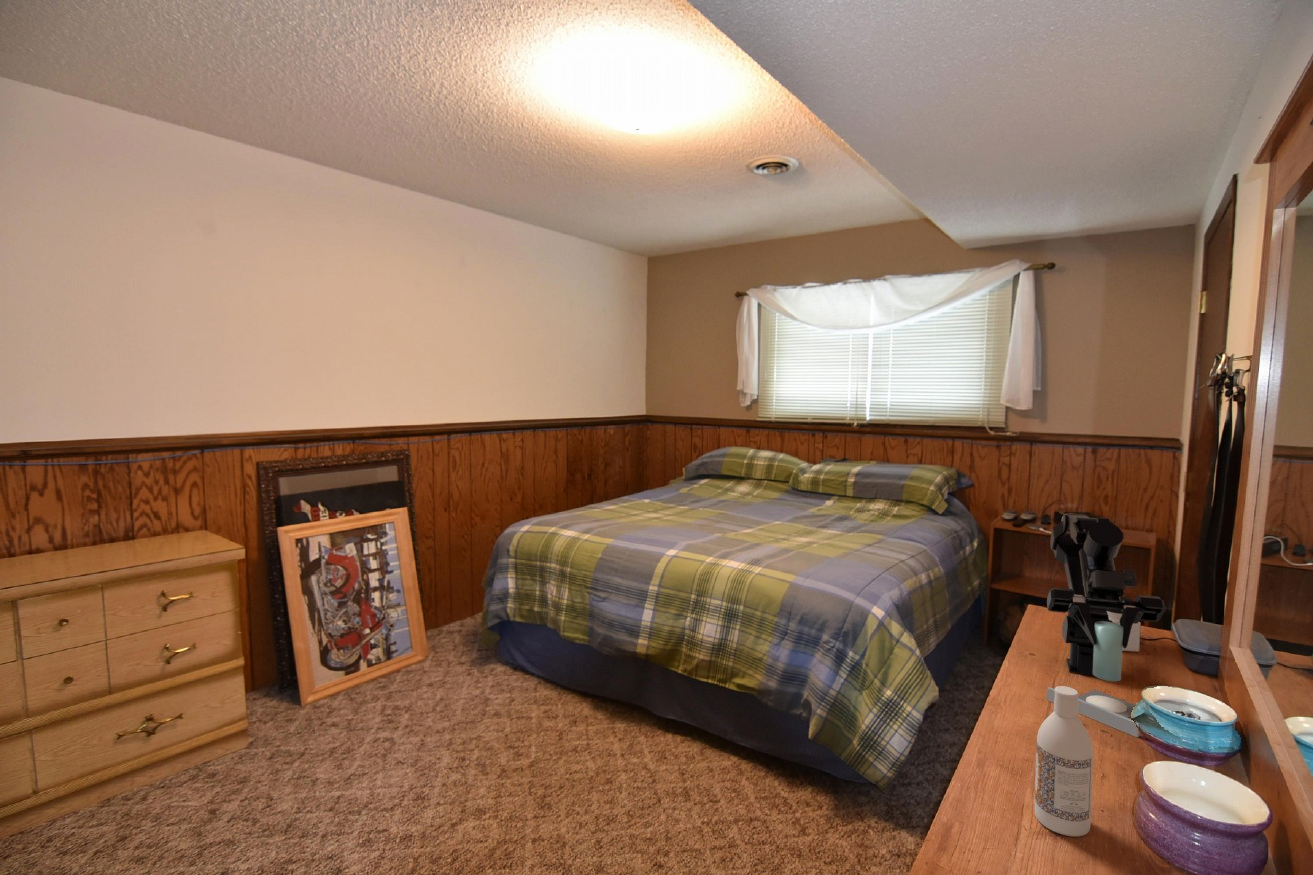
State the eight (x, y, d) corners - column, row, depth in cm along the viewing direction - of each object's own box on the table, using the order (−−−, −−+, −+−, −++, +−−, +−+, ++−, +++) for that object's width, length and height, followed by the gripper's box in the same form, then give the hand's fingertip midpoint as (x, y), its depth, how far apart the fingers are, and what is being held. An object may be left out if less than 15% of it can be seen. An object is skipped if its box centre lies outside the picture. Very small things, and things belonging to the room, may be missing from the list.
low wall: (1046, 699, 130) (1047, 687, 130) (1049, 698, 131) (1049, 686, 130) (1137, 737, 116) (1137, 724, 116) (1139, 736, 117) (1139, 722, 116)
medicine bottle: (1140, 652, 151) (1142, 601, 150) (1105, 650, 153) (1107, 600, 151) (1124, 640, 158) (1126, 591, 157) (1091, 638, 160) (1093, 590, 158)
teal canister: (1088, 669, 128) (1090, 620, 127) (1114, 671, 127) (1117, 621, 126) (1098, 680, 124) (1100, 629, 123) (1125, 682, 123) (1127, 631, 122)
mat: (1068, 705, 128) (1068, 699, 128) (1093, 693, 132) (1094, 688, 132) (1119, 726, 120) (1119, 720, 120) (1144, 713, 124) (1144, 707, 124)
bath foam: (1039, 800, 100) (1043, 674, 98) (1093, 819, 95) (1098, 688, 94) (1029, 824, 95) (1033, 692, 93) (1086, 845, 90) (1092, 707, 88)
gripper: (1051, 548, 130) (1059, 621, 121) (1165, 556, 123) (1183, 634, 114) (1043, 574, 138) (1050, 645, 129) (1150, 583, 131) (1165, 659, 122)
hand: (1109, 645), depth 124 cm, fingers closed on teal canister, 4 cm apart
